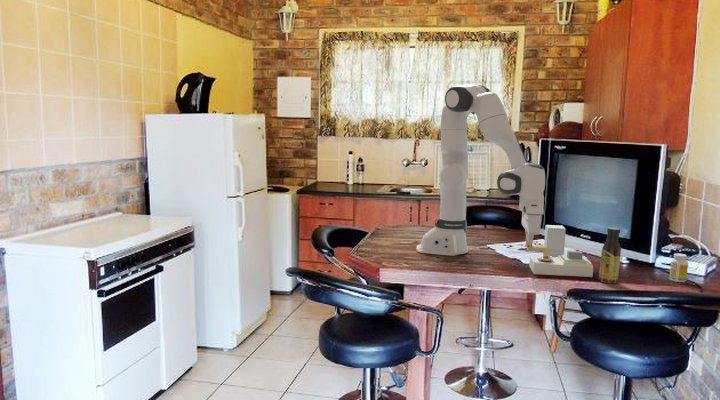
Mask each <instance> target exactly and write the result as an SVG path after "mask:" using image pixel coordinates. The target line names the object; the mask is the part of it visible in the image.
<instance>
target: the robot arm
mask: <svg viewBox="0 0 720 400" xmlns="http://www.w3.org/2000/svg"><path fill="white" fill-rule="evenodd" d="M444 103H445V105H444V106H443V108H442V109H441V115H440V117H441V118H440V150H441V151H440V152H441V161H442V168H441V170H440V172H439V193H440V194H439V196H440V197H439V198H440V201H439V202H440V205H439V217H434V220H433V222H434V227H432V228H431V229H429V230H428V231H427V232H425V233H424V234H423V236H422V239H421V242H420V243H419V244H418V245H416V248H415V250H416V252H418V253H420V254H431V255H439V256H453V257H454V256H458V255H463V254H466V253H468V252H469V249H468V244H467V237H466V236H467V234H466V232H467V226H468V225H467V224H468V222H467V221H468V220H467V219H466V218H467V217H466V216H467V179H468V177H469V159H468V158H469V157H468V129H467V128H468V123H467V121H468V117H469V115H471V114H472V115H474V114H475V115H476V119H477V121H478V125H479V128H480V131H481V134H482V135H483V137H484V139H485V140H487V141H488V142H490V143H491V144H492V143H493V144H494V145H496V146H499V148H501V149H502V150H503V151H504V152H505V154H506V156H507V159H508V161H509V163H510V166H511V169H509V170H505V171H503V172H500V174H499V175H498V177H497V179H496V185H497V189H498V190H499V191H498V192H500V193H501V194H502V195H505V196H506V195H507V196H513V195H514V196H517V195H518V196H519V201H518V202H519V205H518V210H519V211H521V212H522V214H521V225H522V227H523V228H524V229H525V230H524V231H525V234H526V233H528V238H527V242H528V243H532V244H534V243H533V242H534V237H535V236H539V234H540V231H541V226H542V220H543V219H542V218H543V215H545V214H544V212H545V210H544V209H545V208H544V207H545V205H544V202H545V197H544V191H545V187H546V172H545V168H544V167H543V166H542V165H541V164H539V163H534V162H528V161H527V158H526V156H525V153H524V151H523V148H522V145H521V144H520V141H519V140H518V137H517V135H516V134H515V132H514V130H513V129H512V127H511V124H510V121H509V118H508V115H507V112H506V109H505V107H504V104H503V102H502V101H501V99H500V97H499V95H498V94H497V93H495V92H492V91H491V90H490V88H488V87H487V86H484V85H481V84H479V85H477V84H465V85H460V84H458V85H457V84H456V85H454V86H451V87H450V88H448V89H447V90H446V92H445V95H444Z"/></svg>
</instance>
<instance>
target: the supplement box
mask: <svg viewBox="0 0 720 400" xmlns="http://www.w3.org/2000/svg"><path fill="white" fill-rule="evenodd" d="M565 242H566V228H565V227H564V225H561V224H560V225H559V224H558V225H557V224H556V225H554V224H553V225H552V224H545V227H544V243H543V246H544V247H548V250H549V256H552V257H555V258H556V257H558V255H559V256H561V255H565V247H566V245H565Z"/></svg>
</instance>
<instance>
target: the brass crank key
mask: <svg viewBox="0 0 720 400" xmlns="http://www.w3.org/2000/svg"><path fill="white" fill-rule="evenodd" d="M527 238H528V233H526V232H525V247H526V250H527V251H528V252H543V254H542V256H539V257H540V260H541V261H546V262H549V261H551V258H550V257H549V250H548V247H544V245H542V246H541V245H540V246H539V245H533V243H528V242H527Z"/></svg>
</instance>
